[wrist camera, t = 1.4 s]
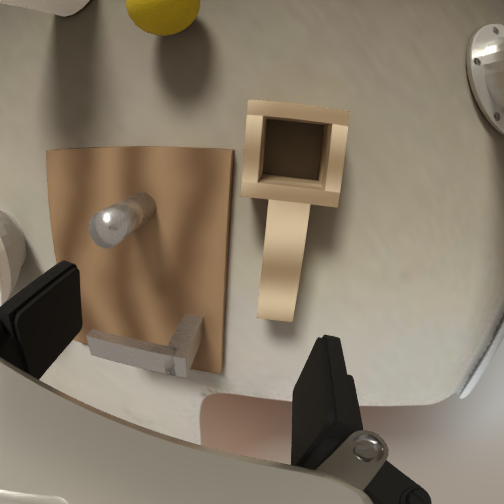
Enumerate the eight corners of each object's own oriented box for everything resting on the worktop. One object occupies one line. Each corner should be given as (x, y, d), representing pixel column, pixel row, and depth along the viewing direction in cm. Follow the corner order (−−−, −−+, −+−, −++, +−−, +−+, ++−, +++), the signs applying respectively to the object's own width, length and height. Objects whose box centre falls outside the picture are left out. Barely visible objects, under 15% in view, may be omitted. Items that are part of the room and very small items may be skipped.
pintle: (156, 192, 27) (118, 213, 20) (156, 222, 28) (121, 250, 21) (129, 191, 27) (87, 211, 21) (129, 220, 28) (90, 246, 22)
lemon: (184, -15, 20) (152, -52, 13) (222, 15, 21) (198, -22, 14) (140, 23, 22) (97, -2, 15) (175, 55, 23) (136, 33, 16)
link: (255, 105, 24) (248, 99, 20) (338, 114, 24) (349, 111, 19) (241, 287, 31) (233, 315, 26) (312, 295, 30) (315, 324, 26)
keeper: (203, 316, 31) (185, 358, 25) (203, 335, 32) (186, 378, 26) (116, 301, 32) (86, 335, 26) (118, 319, 33) (91, 354, 27)
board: (234, 149, 26) (231, 150, 25) (222, 367, 35) (220, 373, 34) (53, 149, 27) (46, 151, 26) (78, 335, 36) (74, 340, 35)
